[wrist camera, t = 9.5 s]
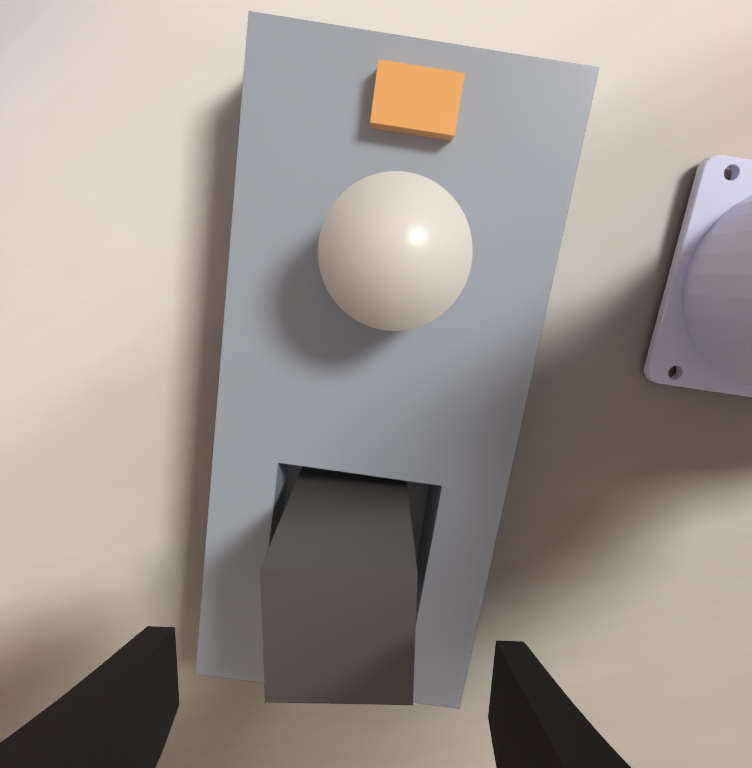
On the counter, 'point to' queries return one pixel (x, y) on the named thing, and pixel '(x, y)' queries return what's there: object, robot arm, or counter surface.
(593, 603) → the counter surface
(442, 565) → the power strip
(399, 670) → the plug
